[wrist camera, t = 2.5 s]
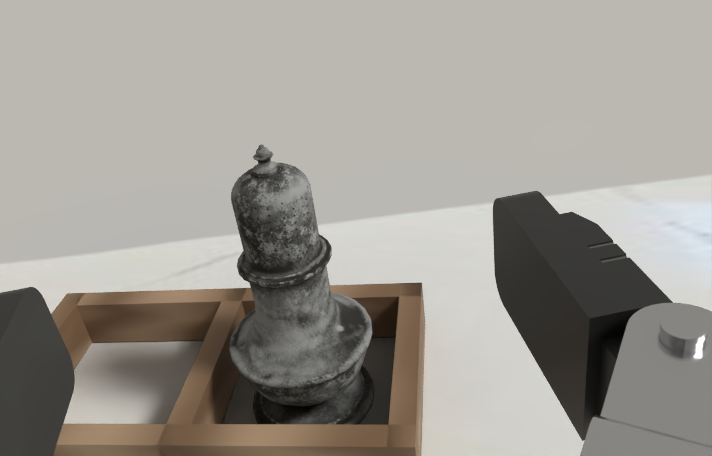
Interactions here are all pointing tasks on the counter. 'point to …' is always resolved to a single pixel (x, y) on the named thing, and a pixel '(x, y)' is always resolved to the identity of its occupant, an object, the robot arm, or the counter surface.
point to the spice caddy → (219, 375)
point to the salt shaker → (295, 307)
